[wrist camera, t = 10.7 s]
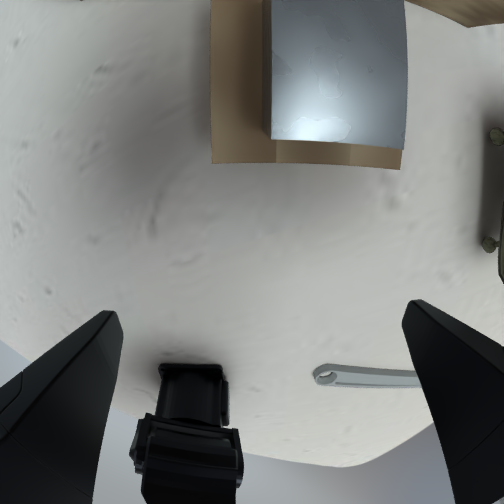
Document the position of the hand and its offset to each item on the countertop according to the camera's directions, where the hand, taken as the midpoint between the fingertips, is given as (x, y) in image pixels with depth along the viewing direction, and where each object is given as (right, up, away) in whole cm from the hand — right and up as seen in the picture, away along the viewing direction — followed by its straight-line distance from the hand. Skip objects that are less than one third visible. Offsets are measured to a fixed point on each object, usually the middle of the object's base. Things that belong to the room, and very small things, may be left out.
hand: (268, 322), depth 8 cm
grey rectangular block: (+2, +13, +7) cm, 15 cm away
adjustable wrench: (+18, -13, +23) cm, 32 cm away
